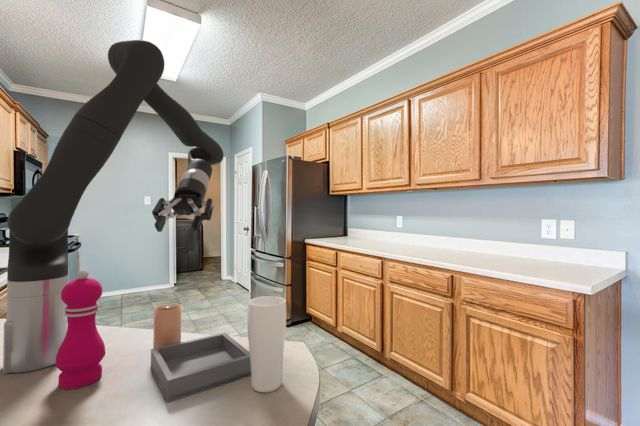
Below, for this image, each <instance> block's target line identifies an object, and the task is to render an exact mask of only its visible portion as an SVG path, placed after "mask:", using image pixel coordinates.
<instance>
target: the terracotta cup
mask: <svg viewBox="0 0 640 426" xmlns="http://www.w3.org/2000/svg"><path fill="white" fill-rule="evenodd" d="M152 342H153V348H152V349H154V348H158V347H163V346H167V345H172V344H176V343H180V342H182V305H181V304H179V303H166V304H165V303H164V304H160V305H158V306H155V307H153V341H152Z"/></svg>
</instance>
